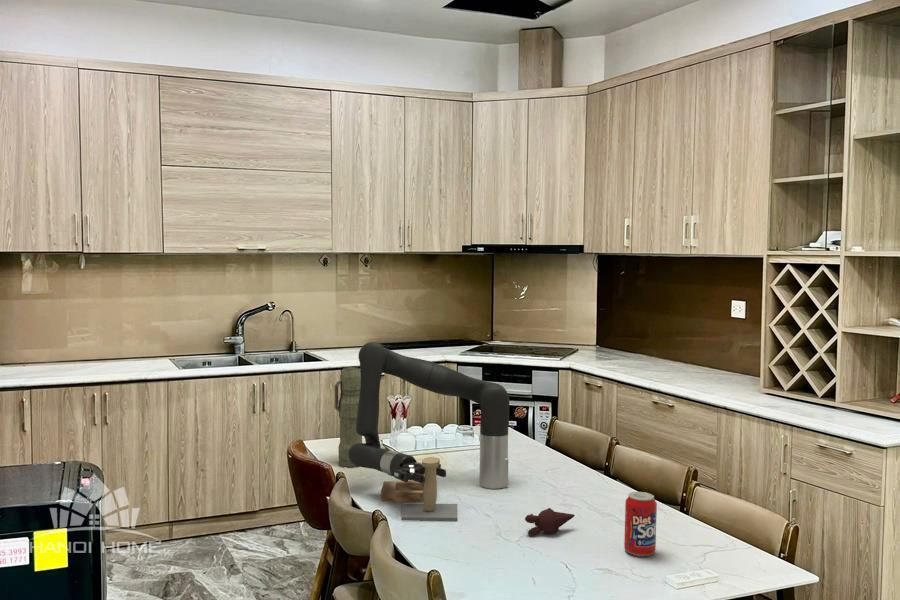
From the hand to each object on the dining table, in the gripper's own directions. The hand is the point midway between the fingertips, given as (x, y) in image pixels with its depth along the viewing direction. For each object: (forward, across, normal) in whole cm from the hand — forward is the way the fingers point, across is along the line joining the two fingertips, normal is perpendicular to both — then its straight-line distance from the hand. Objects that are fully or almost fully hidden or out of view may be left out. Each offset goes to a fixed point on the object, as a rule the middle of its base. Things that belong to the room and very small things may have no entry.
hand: (434, 476), depth 224 cm
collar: (-18, +6, +12) cm, 22 cm away
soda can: (+56, +20, +12) cm, 61 cm away
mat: (-2, 0, +12) cm, 12 cm away
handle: (-2, 0, +11) cm, 11 cm away
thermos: (-58, +14, +12) cm, 61 cm away
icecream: (+32, +14, +12) cm, 36 cm away
